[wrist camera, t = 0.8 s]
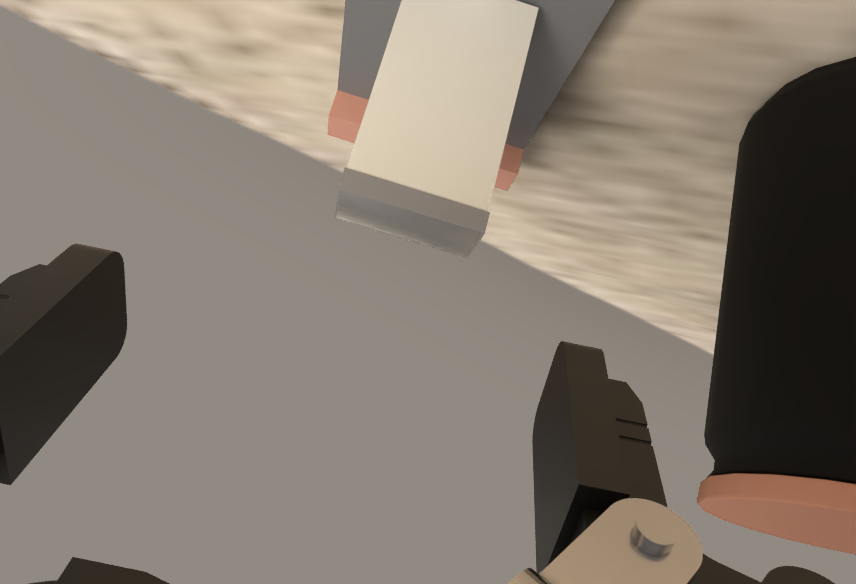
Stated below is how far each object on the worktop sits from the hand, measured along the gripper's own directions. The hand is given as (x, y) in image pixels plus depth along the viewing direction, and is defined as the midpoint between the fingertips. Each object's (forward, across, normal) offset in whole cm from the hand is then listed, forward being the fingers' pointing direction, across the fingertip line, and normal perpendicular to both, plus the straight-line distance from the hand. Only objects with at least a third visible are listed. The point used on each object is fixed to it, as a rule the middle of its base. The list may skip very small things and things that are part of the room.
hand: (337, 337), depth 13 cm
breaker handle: (+19, +1, +3) cm, 20 cm away
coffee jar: (+23, +19, +1) cm, 30 cm away
